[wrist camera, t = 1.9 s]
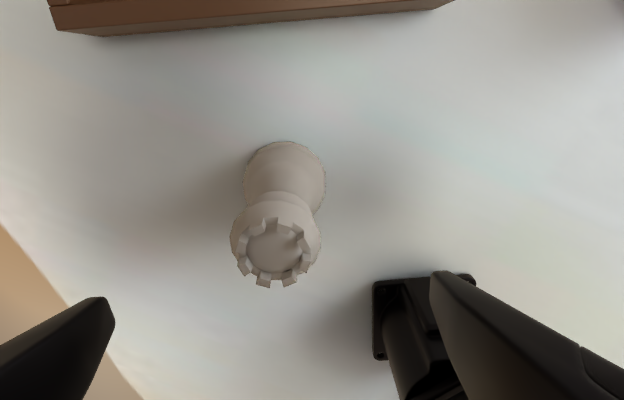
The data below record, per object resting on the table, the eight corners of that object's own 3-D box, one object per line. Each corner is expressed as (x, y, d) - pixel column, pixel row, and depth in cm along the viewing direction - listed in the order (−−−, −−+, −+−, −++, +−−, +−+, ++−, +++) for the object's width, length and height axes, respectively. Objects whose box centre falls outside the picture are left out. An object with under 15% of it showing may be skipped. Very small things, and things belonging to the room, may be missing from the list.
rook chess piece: (300, 227, 19) (298, 328, 12) (231, 192, 18) (183, 277, 11) (341, 165, 18) (367, 235, 10) (269, 123, 17) (242, 167, 10)
